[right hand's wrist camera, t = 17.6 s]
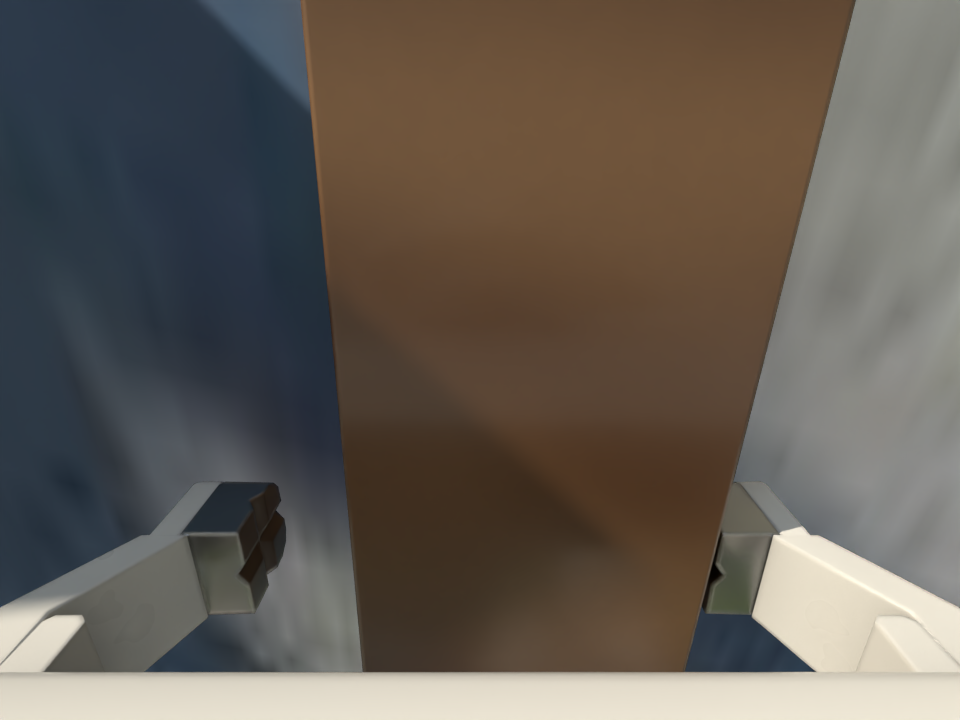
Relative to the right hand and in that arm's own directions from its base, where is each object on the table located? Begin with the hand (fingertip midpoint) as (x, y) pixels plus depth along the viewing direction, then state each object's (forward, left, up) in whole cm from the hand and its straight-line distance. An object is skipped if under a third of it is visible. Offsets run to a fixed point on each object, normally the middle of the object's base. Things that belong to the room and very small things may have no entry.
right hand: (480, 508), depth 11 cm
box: (+5, -6, -7) cm, 11 cm away
